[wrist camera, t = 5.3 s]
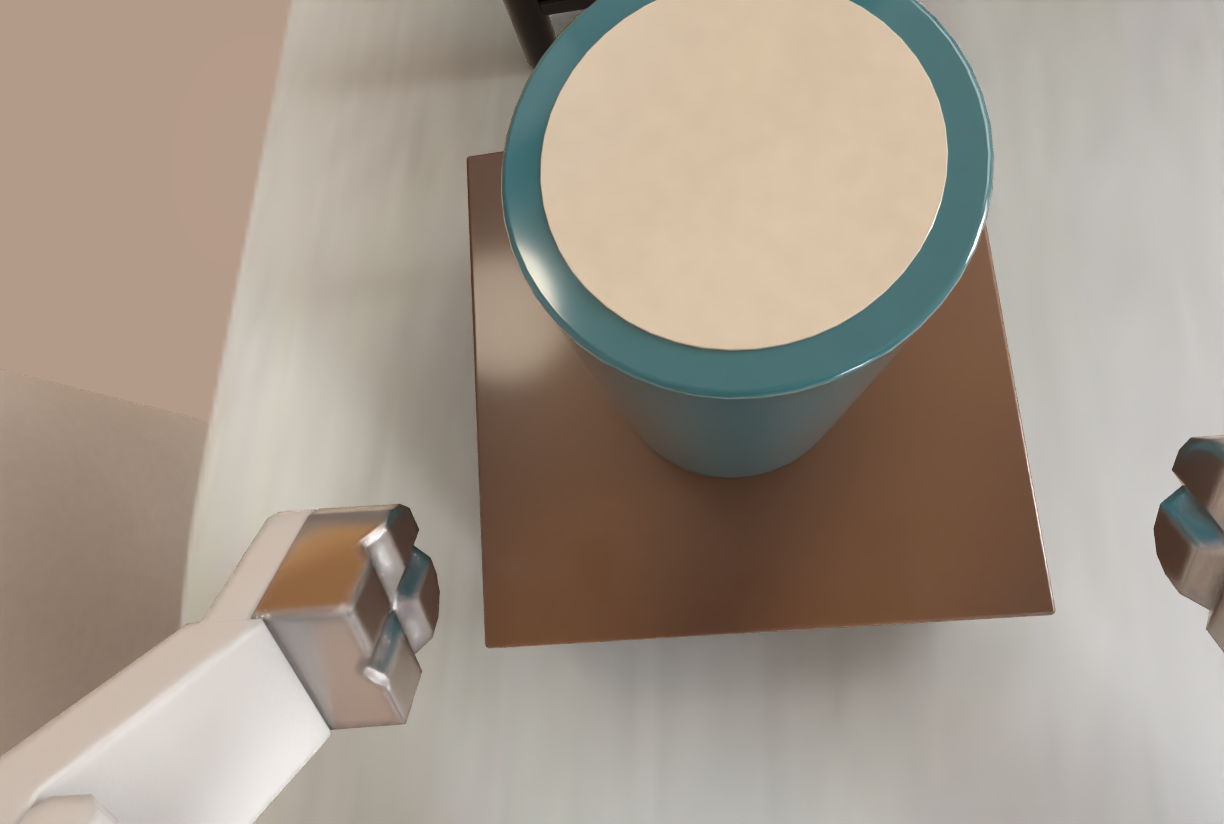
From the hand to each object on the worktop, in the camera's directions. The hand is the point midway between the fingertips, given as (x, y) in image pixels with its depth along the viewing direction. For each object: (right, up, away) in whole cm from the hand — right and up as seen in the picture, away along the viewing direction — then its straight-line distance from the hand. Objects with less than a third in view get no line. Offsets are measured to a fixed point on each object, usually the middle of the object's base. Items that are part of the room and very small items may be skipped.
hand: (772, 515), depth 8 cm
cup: (+1, +2, +9) cm, 9 cm away
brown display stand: (+2, +1, +15) cm, 15 cm away
